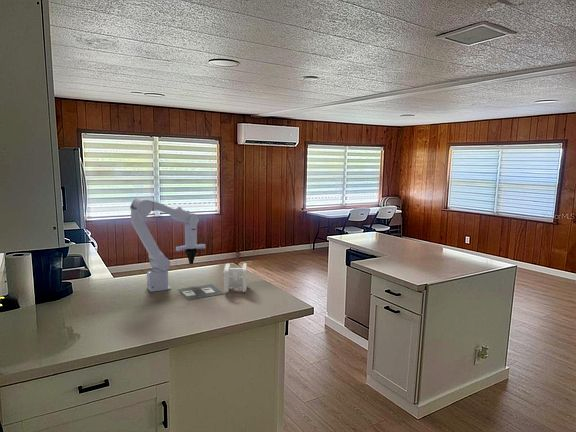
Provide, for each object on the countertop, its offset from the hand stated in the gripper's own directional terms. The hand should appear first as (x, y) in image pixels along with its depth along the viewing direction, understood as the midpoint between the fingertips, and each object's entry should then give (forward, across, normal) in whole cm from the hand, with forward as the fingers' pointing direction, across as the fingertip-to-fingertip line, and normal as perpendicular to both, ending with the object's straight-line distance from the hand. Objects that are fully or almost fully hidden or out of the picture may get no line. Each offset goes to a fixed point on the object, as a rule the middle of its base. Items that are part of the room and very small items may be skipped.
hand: (191, 263), depth 197 cm
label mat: (+9, -1, -17) cm, 19 cm away
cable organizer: (+10, +14, -22) cm, 28 cm away
